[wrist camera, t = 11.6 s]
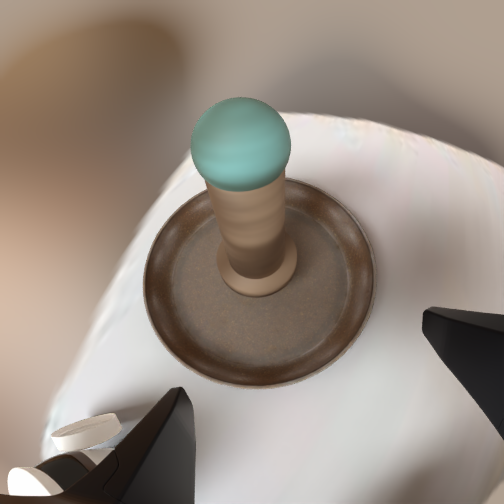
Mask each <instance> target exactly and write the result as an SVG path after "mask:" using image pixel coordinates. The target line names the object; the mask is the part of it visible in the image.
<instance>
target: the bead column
mask: <svg viewBox="0 0 504 504" xmlns="http://www.w3.org/2000/svg"><path fill="white" fill-rule="evenodd" d="M290 151H291V139H290V134H289V130H288V128H287V126H286V123H285V122H284V120H283V119H282V117H281V116H280V115H279V114H278V112H277V111H275V110H274V109H273V108H272V107H270V106H269V105H267V104H266V103H264V102H262V101H259V100H256V99H252V98H242V97H238V98H230V99H227V100H224V101H221V102H219V103H217V104H215V105H213V106H212V107H210V108H209V109H208V110H207V111H206V112H205V113H204V114H203V115H202V116H201V117H200V119H199V120H198V122H197V124H196V125H195V127H194V130H193V133H192V137H191V154H192V159H193V162H194V164H195V167H196V169H197V170H198V172H199V173H200V175H201V176H202V177H203V178H204V179H205V183H206V186H207V189H208V193H209V196H210V200H211V203H212V206H213V210H214V213H215V216H216V220H217V223H218V226H219V230H220V233H221V236H222V241H221V243H220V245H219V247H218V250H217V256H216V261H217V267H218V269H219V272H220V274H221V277H222V279H223V281H224V282H225V284H226V285H227V286H228V287H229V288H230V289H231V290H233V291H234V292H236V293H238V294H240V295H243V296H246V297H252V298H261V297H267V296H270V295H273V294H275V293H277V292H279V291H280V290H282V289H283V288H284V287H285V286H286V285H287V284H288V283H289V282H290V281H291V279H292V277H293V276H294V273H295V269H296V262H297V250H296V246H295V243H294V241H293V240H292V238H291V237H290V236H289V234H288V233H286V232H285V167H286V165H287V163H288V160H289V156H290Z"/></svg>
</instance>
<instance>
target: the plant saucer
mask: <svg viewBox="0 0 504 504" xmlns="http://www.w3.org/2000/svg"><path fill="white" fill-rule="evenodd" d="M285 232H286V233H288V234H289V236H290V237H291V238H292V240H293V241H294V243H295V246H296V250H297V262H296V269H295V273H294V276H293V277H292V279H291V281H290V282H289V283H288V284H287V285H286V286H285V287H284V288H283V289H282V290H280V291H279V292H277V293H275V294H273V295H270V296H267V297H261V298H252V297H246V296H243V295H240V294H238V293H236V292H234V291H233V290H231V289H230V288H229V287H228V286H227V285H226V284H225V282H224V281H223V279H222V277H221V274H220V272H219V269H218V267H217V261H216V256H217V250H218V247H219V245H220V243H221V241H222V236H221V233H220V230H219V226H218V223H217V220H216V216H215V213H214V210H213V206H212V203H211V200H210V196H209V193H208V189H206V190H204V191H202V192H200V193H199V194H197V195H195V196H194V197H192V198H191V199H189V200H188V201H187V202H185V203H184V204H183V205H182V206H180V207H179V208H178V209H177V210H176V211H175V212H174V213H173V214H172V215H171V216H170V217H169V219H168V220H167V221H166V222H165V224H164V225H163V226H162V228H161V229H160V231H159V232H158V234H157V236H156V237H155V239H154V241H153V243H152V245H151V248H150V251H149V253H148V256H147V260H146V264H145V268H144V276H143V297H144V304H145V308H146V311H147V315H148V318H149V321H150V323H151V326H152V328H153V330H154V332H155V334H156V335H157V337H158V339H159V340H160V342H161V343H162V345H163V346H164V347H165V348H166V350H167V351H168V352H169V353H170V354H171V355H172V356H173V357H174V358H175V359H176V360H177V361H178V362H180V363H181V364H182V365H183V366H185V367H186V368H187V369H189V370H191V371H192V372H194V373H196V374H197V375H199V376H201V377H203V378H205V379H208V380H210V381H212V382H215V383H218V384H221V385H225V386H229V387H235V388H241V389H272V388H278V387H283V386H288V385H292V384H295V383H298V382H301V381H303V380H306V379H308V378H310V377H312V376H314V375H316V374H318V373H320V372H321V371H323V370H325V369H326V368H328V367H329V366H331V365H332V364H333V363H334V362H336V361H337V360H338V359H339V358H340V357H341V356H343V355H344V354H345V352H346V351H347V350H348V349H349V348H350V347H351V346H352V345H353V343H354V342H355V341H356V340H357V338H358V337H359V335H360V334H361V332H362V330H363V328H364V327H365V325H366V323H367V321H368V318H369V316H370V313H371V310H372V307H373V303H374V299H375V293H376V279H377V274H376V264H375V259H374V255H373V251H372V247H371V245H370V242H369V240H368V238H367V236H366V234H365V232H364V230H363V228H362V227H361V225H360V224H359V222H358V221H357V219H356V218H355V217H354V216H353V214H352V213H351V212H350V211H349V210H348V209H347V208H346V207H345V206H344V205H343V204H341V203H340V202H339V201H338V200H336V199H335V198H334V197H332V196H331V195H329V194H328V193H326V192H324V191H323V190H321V189H319V188H316V187H315V186H312V185H310V184H307V183H304V182H301V181H298V180H294V179H290V178H285Z"/></svg>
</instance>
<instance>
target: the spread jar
mask: <svg viewBox="0 0 504 504" xmlns="http://www.w3.org/2000/svg"><path fill="white" fill-rule="evenodd" d="M121 430H122V426H121V424H120V422H119V420H118V418H117V416H116V414H114V413H108V414H102V415H98V416H94V417H91V418H87V419H84V420H81V421H78V422H75V423H73V424H70V425H67V426H65V427H63V428H61V429H59V430H57V431H55V432H54V433H52V434H51V437H52V439H53V441H54V442H55V444H56V446H57V448H58V450H60V451H63V452H67V453H63V454H59V455H56V456H54V457H51V458H49V459H47V460H44V461H42V462H41V463H39V464H37V465H36V466H35V467H33V468H31V467H16V468H13V469H12V470H11V471H10V473H9V475H8V489H9V494H10V495H18V496H51V495H56V494H59V493H61V492H64V491H65V490H67V489H68V488H69V487H71V486H72V485H73V484H74V483H76V482H77V481H78V480H80V479H81V478H82V477H83V476H85V475H86V474H87V473H88V472H90V471H91V470H92V469H93V468H94V467H95V466H97V465H98V464H99V463H100V462H101V461H102V460H103V459H104V458H105V457H106V456H107V455H108V454H109V453H110V452H111V451H112V450H113V448H98V449H89V450H83V449H87V448H90V447H93V446H95V445H98V444H101V443H103V442H105V441H107V440H109V439H111V438H112V437H114V436H115V435H117V434H118V433H119V432H120V431H121ZM114 450H115V449H114Z"/></svg>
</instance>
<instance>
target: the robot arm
mask: <svg viewBox="0 0 504 504" xmlns="http://www.w3.org/2000/svg"><path fill="white" fill-rule="evenodd" d="M422 331H423V334H424V336H425V337H426V338H427V340H428V341H429V343H430V344H431V345H432V347H433V348H434V350H435V351H436V353H437V354H438V356H439V357H440V358H441V360H442V361H443V362H444V364H445V365H446V366H447V367H448V368H449V370H450V371H451V372H452V373H453V374H454V375H455V377H456V378H457V379H458V380H459V381H460V383H461V384H462V385H463V386H464V388H465V389H466V390H467V391H468V393H469V394H470V395H471V396H472V398H473V399H474V400H475V401H476V403H477V404H478V405H479V407H480V408H481V409H482V411H483V412H484V413H485V415H486V416H487V417H488V419H489V420H490V421H491V423H492V424H493V425H494V427H495V428H496V430H497V431H498V433H499V434H500V435H501V437H502V438H503V440H504V315H501V314H492V313H482V312H474V311H465V310H457V309H449V308H441V307H430V308H428V309H426V310H425V311H424V312H423V322H422ZM195 457H196V438H195V427H194V414H193V406H192V403H191V401H190V399H189V397H188V395H187V394H186V392H185V390H184V389H183V388H182V387H176V388H171V389H170V390H169V391H168V392H167V393H166V394H165V395H164V396H163V397H162V398H161V400H160V401H159V402H158V403H157V404H156V405H155V406H154V407H153V408H152V409H151V410H150V411H149V413H148V414H147V415H146V416H145V417H144V418H143V419H142V420H141V421H140V422H139V423H138V424H137V425H136V426H135V427H134V428H133V429H132V431H131V432H130V433H129V434H128V435H127V436H126V437H125V438H124V439H123V440H122V441H121V442H120V443H119V444H118V445H117V446H116V447H115V450H114V449H113V450H112V451H111V452H110V453H109V454H108V455H107V456H106V457H105V458H104V459H103V460H102V461H101V462H100V463H99V464H98V465H97V466H95V467H94V468H93V469H92V470H91V471H90V472H88V473H87V474H86V475H85V476H83V477H82V478H81V479H80V480H78V481H77V482H76V483H74V484H73V485H72V486H71V487H69V488H68V489H67V490H65V491H64V492H61V493H59V494H56V495H51V496H18V495H4V494H0V504H194V498H195Z"/></svg>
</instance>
